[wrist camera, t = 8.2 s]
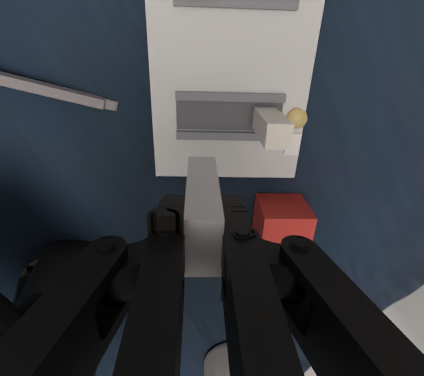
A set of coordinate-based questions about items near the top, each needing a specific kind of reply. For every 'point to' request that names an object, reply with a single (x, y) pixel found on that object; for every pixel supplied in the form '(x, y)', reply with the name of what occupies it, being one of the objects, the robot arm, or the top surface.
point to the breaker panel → (228, 80)
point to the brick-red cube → (282, 216)
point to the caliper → (56, 91)
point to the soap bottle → (217, 361)
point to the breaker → (272, 128)
